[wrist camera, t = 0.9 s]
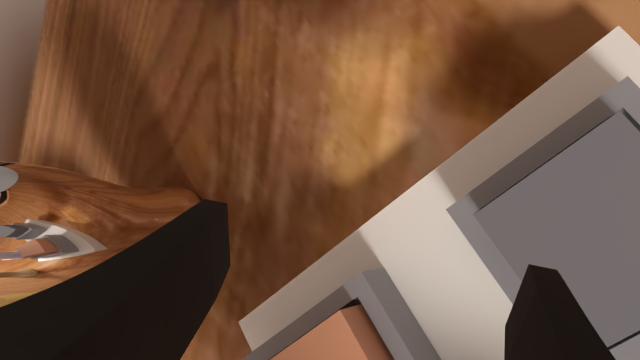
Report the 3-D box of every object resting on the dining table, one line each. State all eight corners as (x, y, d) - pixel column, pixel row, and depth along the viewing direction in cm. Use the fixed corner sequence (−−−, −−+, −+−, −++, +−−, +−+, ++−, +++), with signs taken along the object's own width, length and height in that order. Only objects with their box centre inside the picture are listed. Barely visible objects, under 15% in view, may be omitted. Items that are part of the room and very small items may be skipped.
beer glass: (155, 293, 37) (-103, 328, 24) (134, 202, 38) (-114, 189, 26) (225, 261, 33) (-28, 282, 21) (199, 164, 35) (-47, 127, 23)
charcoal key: (745, 258, 18) (764, 264, 15) (587, 344, 20) (580, 362, 17) (621, 125, 20) (619, 110, 17) (492, 216, 22) (473, 215, 19)
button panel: (882, 300, 18) (949, 320, 14) (369, 539, 27) (325, 591, 23) (620, 40, 23) (616, 2, 19) (259, 317, 32) (207, 329, 28)
